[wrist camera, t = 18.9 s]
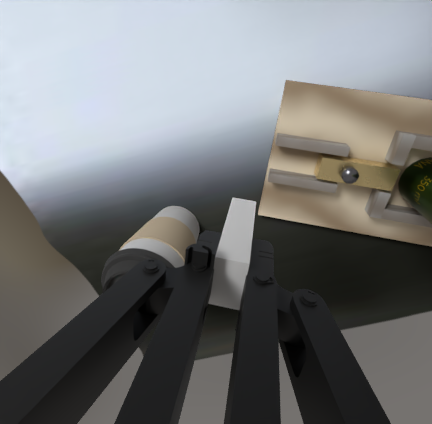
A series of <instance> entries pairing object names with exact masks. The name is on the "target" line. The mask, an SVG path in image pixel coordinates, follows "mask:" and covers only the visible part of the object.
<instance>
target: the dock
mask: <svg viewBox="0 0 432 424" xmlns="http://www.w3.org/2000/svg"><path fill="white" fill-rule="evenodd" d="M319 153H325V154H332V155H338V156H344V157H352V158H358V159H364V160H371V161H377V162H383V163H390V164H394V165H395V166H396V167H398V168H399V169H400V170H401V171H400V173H399V176H398V178H397V180H396V183H395V185H394V187H393V189H392V191H387V190H381V189H375V188H369V187H363V186H358V185H352V184H346V183H340V182H334V181H328V180H322V179H316V176H315V174H314V170H315V166H316V163H317V160H318V156H319ZM429 157H432V100H428V99H421V98H414V97H406V96H399V95H392V94H384V93H377V92H370V91H362V90H355V89H347V88H340V87H333V86H325V85H318V84H311V83H303V82H296V81H289V80H286V82H285V87H284V92H283V97H282V101H281V106H280V111H279V116H278V120H277V125H276V130H275V135H274V139H273V144H272V149H271V154H270V158H269V163H268V168H267V173H266V177H265V182H264V187H263V192H262V196H261V201H260V206H259V211H258V215H262V216H268V217H273V218H278V219H284V220H289V221H295V222H300V223H306V224H311V225H317V226H322V227H328V228H333V229H339V230H344V231H350V232H355V233H361V234H366V235H371V236H377V237H382V238H388V239H393V240H399V241H404V242H410V243H415V244H421V245H426V246H432V224H431V223H430V222H429V221H428V220H427V219H425V218H424V217H423V216H422V215H421V214H420V213H419V212H418V211H417V210H416V209H415V208H414V207H413V206H412V205H411V204H410V203H408V202H407V201H406V200H405V199H404V198H403V197H402V196H401V194H400V192H399V188H398V182H399V178H400V175H401V173H402V172H403V171H404V169H405V168H406V167H407V166H409V165H410V164H411V163H413V162H415V161H417V160H420V159H424V158H429Z"/></svg>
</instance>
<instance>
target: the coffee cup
mask: <svg viewBox="0 0 432 424" xmlns="http://www.w3.org/2000/svg"><path fill="white" fill-rule="evenodd" d="M199 231H200V228H199V223H198V221H197V219H196V217H195V216H194V215H193V214H192V213H191V212H190V211H189V210H187V209H185V208H183V207H179V206H169V207H166V208H164V209H162V210H161V211H160V212H159V213H158V214H157V215H156V216H155V217H154V218H153V219H152V220H150V221H148V222H147V223H146V224H145V225H144V226H143V227H142V228H141V229H140V230H139V231H138V232H136V233H135V234H134V235H133V236H132V237H131V238H130V239H129V240H128V241H127V242H126V243H125V244H124V245H123V246H122V247H121V248H120V250H119V251H118V252H116V253H114V254H113V255H112V256H110V257H109V259H108V260H107V262H106V264H105V266H104V270H103V272H102V278H101V281H102V287H103V293H104V292H105V291H106V290H107V289H109V288H110V287H111V286H112V285H113V284H114V283H116V282H117V281H118V280H119V279H120V278H121V277H123V276H124V275H125V274H126V273H127V272H129V271H130V270H131V269H132V268H133V267H134V266H136V265H137V264H138V263H139V262H141V261H143V260H146V259H156V260H160V261H162V262H163V263H164V264H165V265H166V268H178V267H181V266H184V263H185V251H186V248H187V247H188V246H189V245H192V244H196V243H197V239H198V236H199Z"/></svg>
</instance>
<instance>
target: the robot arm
mask: <svg viewBox="0 0 432 424" xmlns="http://www.w3.org/2000/svg"><path fill="white" fill-rule="evenodd" d="M255 207H256V202H255V201H249V200H244V199H238V198H232V201H231V205H230V208H229V212H228V215H227V218H226V222H225V225H224V229H223V232H222V233H218V232H213V231H208V230H206V231H204V232H203V233H201V234H200V236H199V239H198V241H197V243H196V244H192V245H189V246H188V247H187V248H186V251H185V263H184V266H181V267H178V268H166V265H165V264H164V263H163V262H162V261H160V260H156V259H146V260H143V261H141V262H139V263H138V264H137V265H136V266H134V267H133V268H132V269H131V270H130V271H129V272H127V273H126V274H125V275H124V276H123V277H121V278H120V279H119V280H118V281H117V282H116V283H114V284H113V285H112V286H111V287H110V288H109V289H107V290H106V291H105V292H104V293H103V294H102V295H100V296H99V297H98V298H97V299H96V300H95V301H94V302H92V303H91V304H90V305H89V306H88V307H87V308H85V309H84V310H83V311H82V312H81V313H79V314H78V315H77V316H76V317H75V318H74V319H73V320H71V321H70V322H69V323H68V324H67V325H65V326H64V327H63V328H62V329H61V330H60V331H59V332H57V333H56V334H55V335H54V336H53V337H51V338H50V339H49V340H48V341H47V342H46V343H44V344H43V345H42V346H41V347H40V348H38V349H37V350H36V351H35V352H34V353H33V354H31V355H30V356H29V357H28V358H27V359H26V360H24V361H23V362H22V363H21V364H20V365H19V366H17V367H16V368H15V369H14V370H13V371H12V372H11V373H9V374H8V375H7V376H6V377H5V378H3V379H2V380H1V381H0V424H77V423H78V422H79V421H80V419H81V418H82V417H83V416H84V414H85V413H86V412H87V411H88V409H89V408H90V407H91V406H92V404H93V403H94V402H95V401H96V399H97V398H98V397H99V396H100V394H101V393H102V392H103V390H104V389H105V388H106V387H107V386H108V384H109V383H110V382H111V381H112V379H113V378H114V377H115V375H116V374H117V373H118V372H119V371H120V369H121V368H122V367H123V365H124V364H125V363H126V362H127V360H128V359H129V358H130V357H131V355H132V354H133V353H134V352H135V350H136V349H137V348H138V347H139V345H140V344H141V343H142V342H143V340H144V339H145V338H146V337H147V335H148V334H149V333H150V332H151V330H152V329H153V328H154V327H155V325H156V324H157V323H158V322H159V323H158V325H157V328H156V330H155V332H154V334H153V337H152V339H151V341H150V344H149V346H148V348H147V350H146V353H145V355H144V357H143V360H142V362H141V364H140V366H139V369H138V371H137V373H136V376H135V378H134V380H133V382H132V385H131V387H130V389H129V392H128V394H127V396H126V398H125V401H124V403H123V405H122V407H121V410H120V412H119V414H118V417H117V419H116V421H115V423H114V424H178V422H179V419H180V415H181V411H182V407H183V403H184V399H185V395H186V391H187V387H188V383H189V380H190V376H191V372H192V368H193V364H194V360H195V356H196V352H197V349H198V345H199V341H200V337H201V333H202V329H203V325H204V321H205V318H206V314H207V308H208V304H213V305H217V306H222V307H226V308H231V309H236V310H240V311H239V315H238V320H237V325H236V329H235V331H236V336H235V343H234V351H233V359H232V366H231V374H230V381H229V389H228V396H227V404H226V411H225V419H224V424H281V419H280V383H279V351H278V350H279V349H278V339H279V343H280V347H281V350H282V353H283V357H284V360H285V363H286V367H287V370H288V373H289V376H290V380H291V383H292V386H293V390H294V393H295V396H296V399H297V403H298V406H299V409H300V412H301V416H302V419H303V423H304V424H391V423H390V421H389V419H388V417H387V416H386V414H385V412H384V410H383V408H382V407H381V405H380V403H379V401H378V399H377V397H376V395H375V394H374V392H373V390H372V388H371V386H370V384H369V382H368V381H367V379H366V377H365V375H364V373H363V372H362V370H361V368H360V366H359V364H358V362H357V360H356V359H355V357H354V355H353V353H352V351H351V349H350V348H349V346H348V344H347V342H346V340H345V339H344V337H343V335H342V333H341V331H340V329H339V327H338V325H337V324H336V322H335V320H334V318H333V316H332V314H331V313H330V311H329V309H328V307H327V305H326V303H325V302H324V300H323V299H322V298H321V296H319V295H318V294H317V293H315V292H313V291H311V290H307V289H298V290H296V291H295V292H294V294H293V293H291V292H289V291H287V290H285V289H283V288H281V287H280V286H279V285H278V284H277V282H276V279H275V278H274V263H273V246H272V245H271V243H270V242H269V241H264V240H258V239H253V238H252V236H253V226H254V217H255ZM208 302H209V303H208ZM159 320H160V321H159Z"/></svg>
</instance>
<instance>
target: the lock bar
mask: <svg viewBox="0 0 432 424" xmlns="http://www.w3.org/2000/svg"><path fill="white" fill-rule="evenodd" d="M400 171H401V170H400V169H399V168H398V167H396V166H395V165H394V164H390V163H383V162H377V161H371V160H364V159H358V158H352V157H344V156H338V155H332V154H325V153H319V156H318V160H317V163H316V166H315V170H314V174H315V176H316V179H322V180H328V181H334V182H340V183H346V184H352V185H358V186H363V187H369V188H375V189H381V190H387V191H392V189H393V187H394V185H395V183H396V180H397V178H398V176H399V173H400Z"/></svg>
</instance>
